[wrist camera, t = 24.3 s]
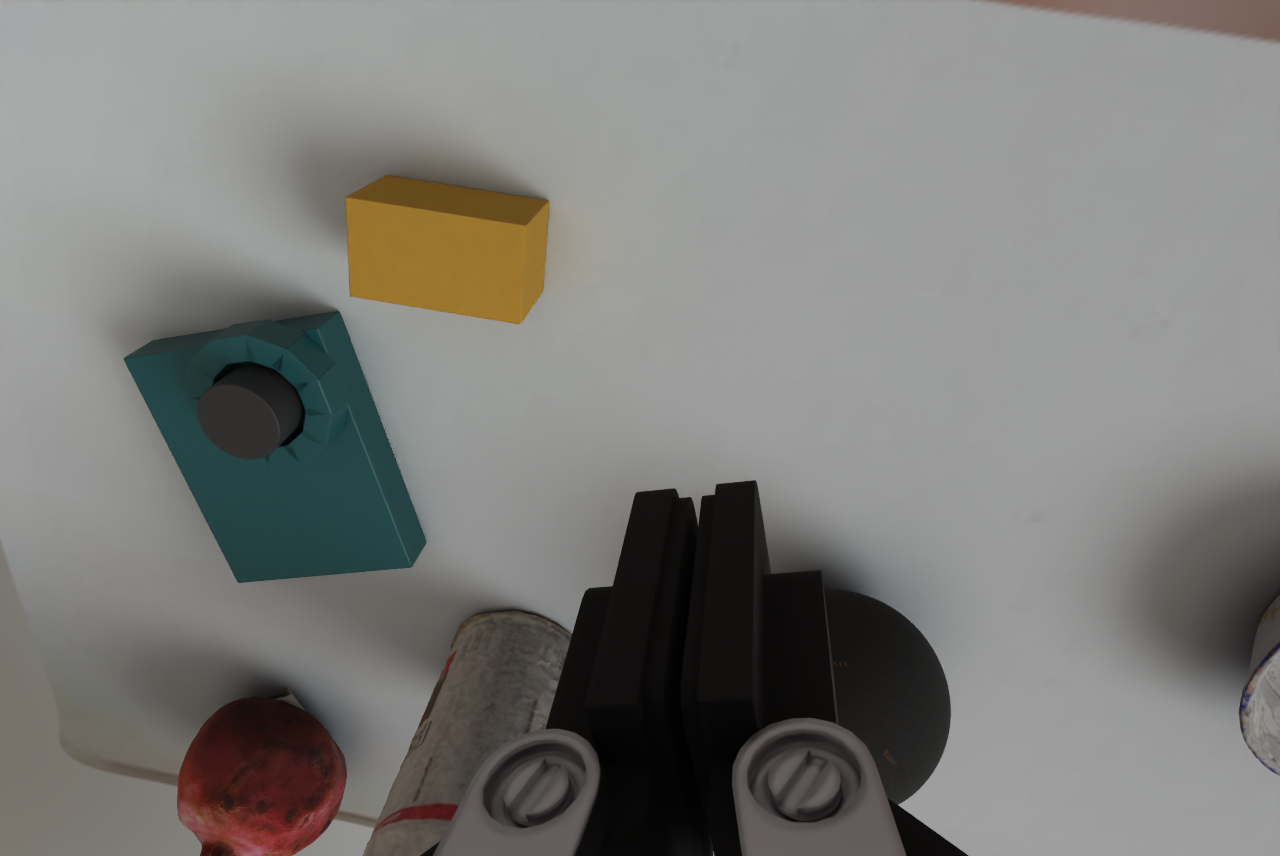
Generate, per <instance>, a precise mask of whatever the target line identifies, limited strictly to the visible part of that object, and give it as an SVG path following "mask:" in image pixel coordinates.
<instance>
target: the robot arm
mask: <svg viewBox="0 0 1280 856" xmlns="http://www.w3.org/2000/svg"><path fill="white" fill-rule="evenodd" d="M713 851H714V855H715V856H968V855H967V854H965V853H964V852H963V851H961V850H960V849H958V848H957V847H956V846H954V845H953V844H951V843H950V842H949V841H947V840H946V839H944V838H943V837H942V836H940V835H939V834H937V833H936V832H935V831H933V830H932V829H930V828H929V827H928V826H926V825H925V824H923V823H922V822H921V821H919V820H918V819H916V818H915V817H914V816H912V815H911V814H909V813H908V812H907V811H905V810H904V809H902V808H901V807H900V806H898V805H897V804H895V803H894V802H893V801H891V800H890V799H888V798H887V796H886V793H885V790H884V787H883V784H882V781H881V778H880V775H879V772H878V769H877V766H876V763H875V761H874V759H873V757H872V756H871V754H870V752H869V750H868V748H867V747H866V745H865V744H864V743H863V742H862V741H861V740H860V739H859V738H857V737H856V736H855V735H854V734H853V733H852V732H851V731H849V730H847V729H845V728H843V727H841V726H839V722H838V712H837V702H836V692H835V683H834V673H833V664H832V655H831V646H830V637H829V628H828V620H827V611H826V603H825V595H824V587H823V579H822V572H821V570H817V571H805V572H792V573H779V574H771V569H770V562H769V556H768V550H767V543H766V537H765V530H764V524H763V517H762V511H761V505H760V498H759V492H758V487H757V482H756V480H754V481H744V482H734V483H724V484H717V485H716V489H715V495H708V496H702V500H701V508H700V517H699V526H698V523H697V518H696V513H695V508H694V504H693V500H692V498H691V497H687V498H679V496H678V493H677V490H676V489H675V488H674V489H664V490H654V491H644V492H637V493H636V494H635V497H634V501H633V505H632V509H631V513H630V517H629V522H628V526H627V530H626V534H625V538H624V542H623V546H622V551H621V555H620V559H619V563H618V567H617V571H616V575H615V579H614V584H613V586H611V587H598V588H589V589H588V590H586V591H585V594H584V596H583V598H582V602H581V605H580V609H579V612H578V616H577V619H576V623H575V626H574V630H573V633H572V637H571V640H570V644H569V647H568V651H567V654H566V658H565V661H564V665H563V668H562V672H561V675H560V679H559V682H558V686H557V689H556V693H555V696H554V700H553V703H552V707H551V710H550V714H549V717H548V721H547V724H546V728H545V729H541V730H536V731H533V732H529V733H526V734H522V735H519V736H518V737H516V738H514V739H512V740H510V741H509V742H507V743H505V744H503V745H501V746H500V747H499V748H498V749H497V750H496V751H495V752H494V753H492V754H491V755H490V756H489V757H488V758H487V759H486V760H485V761H484V763H483V764H482V766H481V767H480V769H479V770H478V771H477V773H476V774H475V776H474V778H473V780H472V782H471V784H470V785H469V787H468V789H467V791H466V793H465V795H464V797H463V799H462V801H461V803H460V805H459V807H458V808H457V810H456V812H455V814H454V816H453V818H452V820H451V822H450V824H449V826H448V828H447V829H446V831H445V833H444V835H443V837H442V839H441V841H439V842H438V843H437V844H435V845H434V846H432V847H431V848H430V849H428V850H427V851H426V852H424V853H423V854H421V855H420V856H713Z"/></svg>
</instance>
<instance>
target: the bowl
mask: <svg viewBox="0 0 1280 856" xmlns="http://www.w3.org/2000/svg"><path fill="white" fill-rule="evenodd" d="M1239 718H1240V728H1241V731H1242V734H1243V737H1244V740H1245V742H1246V744H1247V746H1248V748H1249V749H1250V750H1251V751H1252V752H1253V754H1254V755H1255V757H1256V758H1257V759H1259V760H1260V762H1261V763H1262V764H1263V765H1264V766H1265V767H1267V768H1268V769H1270V770H1271V771H1272V772H1274V773H1275V774H1278V775H1280V594H1279V595H1278V596H1277V597H1276V599H1275V600H1274V601H1273V602H1272V603H1271V604H1270V606H1269V607H1268V608H1267V610H1266V611H1265V612H1264V614H1263V616H1262V618H1261V621H1260V623H1259V625H1258V629H1257V632H1256V637H1255V641H1254V645H1253V651H1252V658H1251V663H1250V669H1249V674H1248V678H1247V681H1246V683H1245V686H1244V688H1243V691H1242V697H1241V702H1240V708H1239Z"/></svg>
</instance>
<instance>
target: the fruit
mask: <svg viewBox="0 0 1280 856" xmlns="http://www.w3.org/2000/svg"><path fill="white" fill-rule="evenodd" d="M346 778H347V770H346V762H345V758H344V755H343V753H342V752H341V750H340V748H339V747H338V745H337V744H336V743H335V741H334V740H333V739H332V738H331V736H330V735H329V733H328V731H327V730H326V729H325V728H324V726H323V725H322V724H321V723H320V722H319V721H318V720H317V719H315V718H314V717H313V716H311V715H310V714H309V713H308V712H307V711H306V710H305V709H304V708H303V707H302V706H301V705H300V703H299V702H298V700H297V699H296V697H295V696H294V695H293V693H292V692H291V690H290V689H289V688H288V687H286V689H285V692H284V694H281V695H278V696H275V697H271V698H264V697H256V696H251V697H248V698H241V699H239V700H236V701H233V702H231V703H229V704H226V705H225V706H223V707H221V708H220V709H219V710H217V711H216V712H215V713H214V714H213V715H212V716H211V717H210V718H209V719H208V720H207V721H206V722H205V723H204V724H203V726H202V727H201V729H200V731H199V732H198V734H197V736H196V737H195V738H194V740H193V741H192V743H191V745H190V747H189V749H188V751H187V753H186V756H185V758H184V761H183V764H182V766H181V769H180V772H179V778H178V796H177V797H178V798H177V809H178V816H179V819H180V821H181V822H182V824H183V825H184V826H186V827H187V828H188V829H189V830H191V831H192V832H193V833H194V834H195V835H196V837H197V838H198V840H199V841H200V842H201V844H202V851H201V854H200V856H292V855H294V854H296V853H297V852H299V851H300V850H302V849H303V848H305V847H307V846H308V845H310V844H311V843H312V842H314V841H315V840H316V839H317V838H318V837H319V836H320V835H321V834H322V833H324V831H325V830H326V829H327V828H328V826H329V825H330V823H331V822H332V820H333V819H334V817H335V816H336V814H337V812H338V810H339V807H340V804H341V801H342V797H343V793H344V789H345V785H346Z"/></svg>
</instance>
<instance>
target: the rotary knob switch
mask: <svg viewBox="0 0 1280 856" xmlns="http://www.w3.org/2000/svg"><path fill="white" fill-rule="evenodd" d="M124 361H125V363H126V365H127V367H128V369H129V371H130V373H131V375H132V377H133V378H134V380H135V382H136V384H137V386H138V388H139V390H140V392H141V394H142V396H143V398H144V400H145V402H146V404H147V406H148V408H149V410H150V412H151V414H152V416H153V418H154V420H155V421H156V423H157V425H158V427H159V429H160V431H161V433H162V435H163V437H164V439H165V441H166V443H167V445H168V447H169V449H170V451H171V453H172V455H173V457H174V459H175V461H176V463H177V464H178V466H179V468H180V470H181V472H182V474H183V476H184V478H185V480H186V482H187V484H188V486H189V488H190V490H191V492H192V494H193V496H194V498H195V500H196V502H197V504H198V506H199V507H200V509H201V511H202V513H203V515H204V517H205V519H206V521H207V523H208V525H209V527H210V529H211V531H212V533H213V535H214V537H215V539H216V541H217V543H218V545H219V547H220V549H221V550H222V552H223V554H224V556H225V558H226V560H227V562H228V564H229V566H230V568H231V570H232V572H233V574H234V576H235V578H236V580H237V582H238V583H242V582H253V581H265V580H276V579H287V578H298V577H310V576H321V575H332V574H343V573H354V572H366V571H377V570H388V569H399V568H411V567H412V566H413V564H414V563H415V561H416V559H417V558H418V556H419V554H420V552H421V551H422V549H423V547H424V546H425V544H426V540H425V537H424V534H423V532H422V529H421V526H420V524H419V521H418V518H417V516H416V513H415V510H414V508H413V505H412V502H411V500H410V497H409V494H408V492H407V489H406V486H405V484H404V481H403V479H402V476H401V473H400V471H399V468H398V465H397V463H396V460H395V457H394V455H393V452H392V449H391V447H390V444H389V441H388V439H387V436H386V433H385V431H384V428H383V425H382V423H381V420H380V417H379V415H378V412H377V410H376V407H375V404H374V402H373V399H372V396H371V394H370V391H369V388H368V386H367V383H366V380H365V378H364V375H363V372H362V370H361V367H360V364H359V362H358V359H357V356H356V354H355V351H354V349H353V346H352V343H351V341H350V338H349V335H348V333H347V330H346V327H345V325H344V322H343V319H342V317H341V314H340V312H339V311H336V312H330V313H324V314H317V315H311V316H305V317H298V318H292V319H286V320H280V321H270V320H261V321H254V322H248V323H242V324H235V325H232V326H230V327H229V328H227V329H223V330H216V331H210V332H204V333H198V334H191V335H185V336H179V337H172V338H166V339H160V340H153V341H151V342H150V343H148V344H146V345H145V346H143V347H141V348H140V349H138V350H136V351H135V352H133V353H132V354H130V355H128V356H127V357H125V358H124ZM245 365H259V366H264V367H267V368H270V369H272V370H274V371H276V372H278V373H279V374H281V375H282V376H283V377H284V378H285V379H286V380H288V381H289V382H290V383H291V385H292V386H293V387H294V389H295V390H296V392H297V394H298V396H299V398H300V401H301V405H302V417H301V421H300V423H299V425H298V427H297V428H296V429H295V430H294V431H293V432H292V433H291V434H290V435H289V436H288V437H287V438H286V439H285V440H284V441H283V442H282V443H281V444H280V445H279V446H278V447H277V448H276V449H275V450H274V451H273V452H272V453H271V454H269V455H268V456H266V457H263V458H260V459H255V460H246V459H240V458H237V457H234V456H231V455H229V454H227V453H225V452H223V451H222V450H220V449H219V448H218V447H216V446H215V445H214V444H213V443H212V442H211V441H210V440H209V439H208V437H207V436H206V435H205V433H204V431H203V430H202V428H201V425H200V423H199V420H198V414H197V408H198V403H199V400H200V398H201V396H202V395H203V393H204V392H205V391H206V390H208V389H209V388H210V387H211V386H213V385H214V384H215V383H217V382H218V381H219V380H221V379H222V378H223V377H225V376H226V375H227V374H229V373H230V372H231V371H233V370H234V369H236V368H238V367H241V366H245Z"/></svg>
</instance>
